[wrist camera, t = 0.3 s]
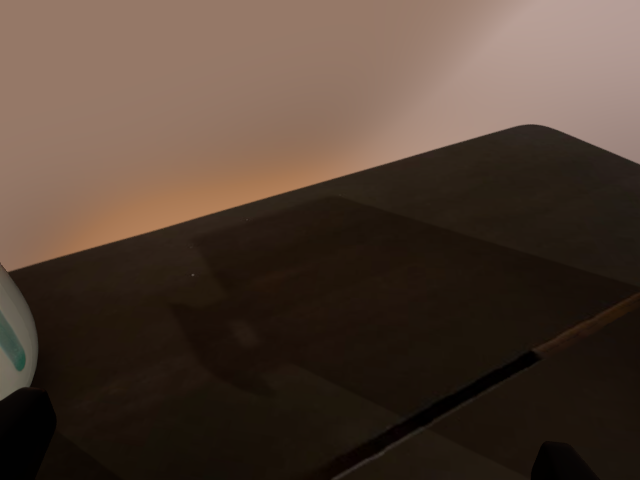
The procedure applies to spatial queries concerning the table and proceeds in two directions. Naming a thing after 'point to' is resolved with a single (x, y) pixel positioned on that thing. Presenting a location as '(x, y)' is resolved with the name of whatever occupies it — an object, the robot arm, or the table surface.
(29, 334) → the vase
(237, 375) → the table surface
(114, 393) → the table surface
